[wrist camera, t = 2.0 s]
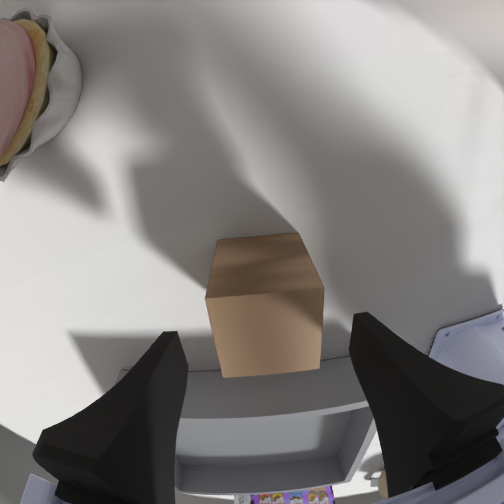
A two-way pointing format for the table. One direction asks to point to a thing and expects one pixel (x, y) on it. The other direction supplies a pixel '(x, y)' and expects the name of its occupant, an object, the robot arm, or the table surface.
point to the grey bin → (271, 431)
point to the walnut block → (265, 306)
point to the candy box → (290, 497)
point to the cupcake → (33, 86)
